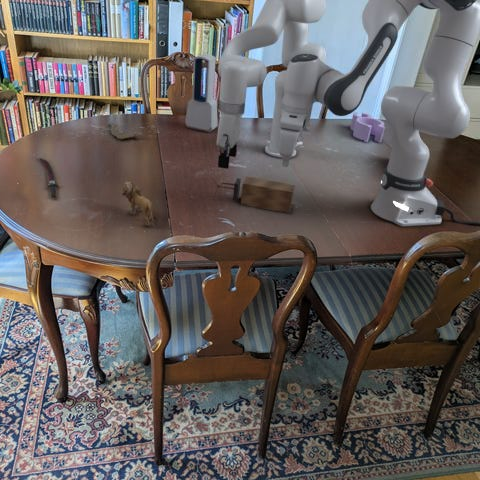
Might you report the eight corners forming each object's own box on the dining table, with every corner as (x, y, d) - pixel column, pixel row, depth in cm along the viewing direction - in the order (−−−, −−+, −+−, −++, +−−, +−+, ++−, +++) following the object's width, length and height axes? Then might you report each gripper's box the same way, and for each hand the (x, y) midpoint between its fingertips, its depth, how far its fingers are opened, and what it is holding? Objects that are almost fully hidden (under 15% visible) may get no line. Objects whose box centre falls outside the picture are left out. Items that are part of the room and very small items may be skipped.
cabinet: (240, 204, 148) (242, 183, 144) (244, 197, 153) (246, 176, 149) (289, 213, 146) (292, 192, 142) (291, 205, 150) (294, 185, 146)
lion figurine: (118, 210, 138) (116, 182, 133) (132, 204, 141) (131, 177, 137) (151, 229, 130) (150, 201, 126) (165, 223, 134) (165, 195, 129)
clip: (343, 126, 223) (346, 112, 219) (367, 127, 225) (371, 113, 221) (360, 142, 206) (364, 127, 202) (386, 142, 209) (390, 127, 205)
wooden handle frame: (215, 196, 149) (216, 180, 146) (219, 190, 153) (220, 175, 150) (277, 208, 147) (280, 191, 144) (279, 202, 150) (282, 186, 147)
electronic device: (217, 128, 204) (222, 56, 188) (211, 133, 198) (215, 59, 182) (191, 123, 207) (194, 51, 191) (184, 127, 201) (186, 54, 185)
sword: (61, 197, 141) (61, 193, 140) (50, 198, 139) (50, 194, 139) (49, 160, 164) (48, 156, 163) (39, 160, 163) (39, 157, 162)
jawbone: (125, 144, 181) (124, 139, 180) (93, 130, 191) (92, 125, 190) (143, 137, 187) (142, 132, 185) (111, 123, 197) (110, 119, 196)
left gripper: (226, 97, 143) (222, 150, 152) (211, 113, 129) (207, 170, 138) (250, 101, 142) (244, 153, 151) (237, 117, 128) (232, 174, 137)
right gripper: (289, 103, 142) (282, 146, 149) (278, 123, 125) (271, 170, 132) (309, 107, 141) (301, 150, 148) (301, 127, 124) (293, 174, 131)
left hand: (227, 161), depth 145 cm, fingers open, 9 cm apart
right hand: (287, 160), depth 140 cm, fingers open, 8 cm apart
